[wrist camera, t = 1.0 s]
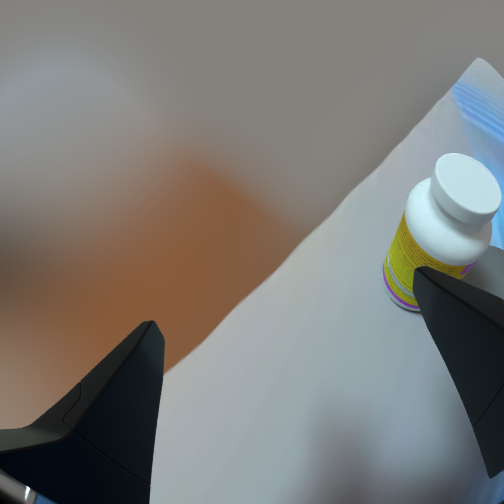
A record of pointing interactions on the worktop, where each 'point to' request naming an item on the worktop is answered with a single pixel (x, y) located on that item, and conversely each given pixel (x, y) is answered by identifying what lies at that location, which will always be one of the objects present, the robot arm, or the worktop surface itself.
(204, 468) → the worktop surface
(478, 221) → the supplement bottle
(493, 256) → the slate coaster
